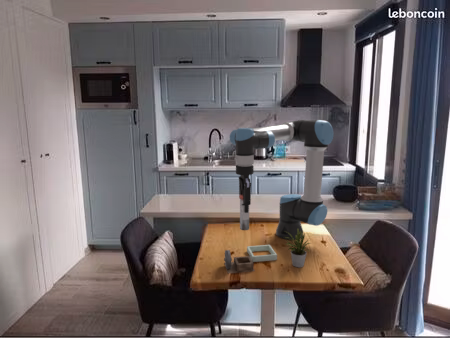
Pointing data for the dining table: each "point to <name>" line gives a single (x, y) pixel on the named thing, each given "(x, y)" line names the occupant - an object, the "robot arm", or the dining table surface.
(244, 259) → the block
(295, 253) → the house plant
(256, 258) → the tray
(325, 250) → the dining table surface
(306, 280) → the dining table surface
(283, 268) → the dining table surface
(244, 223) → the pin
